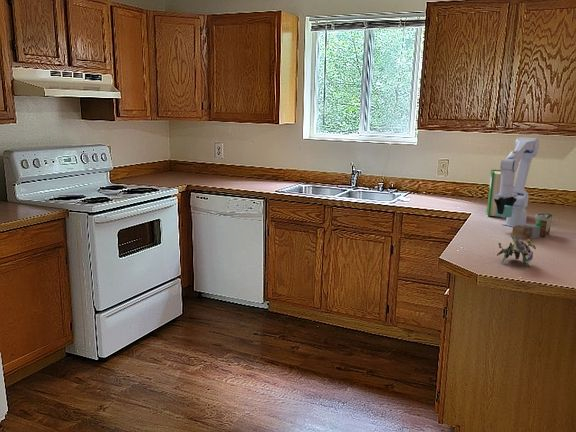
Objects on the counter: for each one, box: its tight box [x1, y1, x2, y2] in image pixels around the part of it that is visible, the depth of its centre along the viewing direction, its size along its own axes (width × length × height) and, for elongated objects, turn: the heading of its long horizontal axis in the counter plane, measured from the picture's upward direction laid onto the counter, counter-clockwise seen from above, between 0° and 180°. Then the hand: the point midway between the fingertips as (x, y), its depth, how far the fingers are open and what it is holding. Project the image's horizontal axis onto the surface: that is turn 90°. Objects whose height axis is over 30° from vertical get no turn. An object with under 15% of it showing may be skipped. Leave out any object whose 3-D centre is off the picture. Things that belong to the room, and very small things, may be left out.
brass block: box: [511, 225, 530, 240], centre depth 230 cm, size 5×5×5 cm
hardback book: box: [486, 169, 504, 219], centre depth 282 cm, size 18×7×24 cm, turn 161°
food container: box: [534, 211, 553, 239], centre depth 236 cm, size 12×6×10 cm, turn 143°
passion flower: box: [496, 233, 537, 268], centre depth 188 cm, size 13×12×14 cm
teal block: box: [495, 205, 513, 219], centre depth 242 cm, size 5×5×5 cm
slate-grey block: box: [524, 224, 541, 239], centre depth 233 cm, size 5×5×5 cm
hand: (503, 213), depth 242 cm, fingers closed on teal block, 5 cm apart
